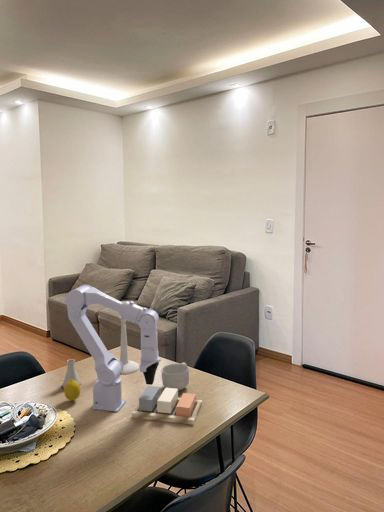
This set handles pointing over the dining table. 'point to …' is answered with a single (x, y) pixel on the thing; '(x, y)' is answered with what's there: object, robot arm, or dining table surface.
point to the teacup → (175, 376)
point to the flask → (71, 373)
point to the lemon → (72, 390)
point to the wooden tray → (168, 417)
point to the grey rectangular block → (149, 398)
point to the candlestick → (126, 351)
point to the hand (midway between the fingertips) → (149, 383)
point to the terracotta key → (186, 405)
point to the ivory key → (167, 400)
